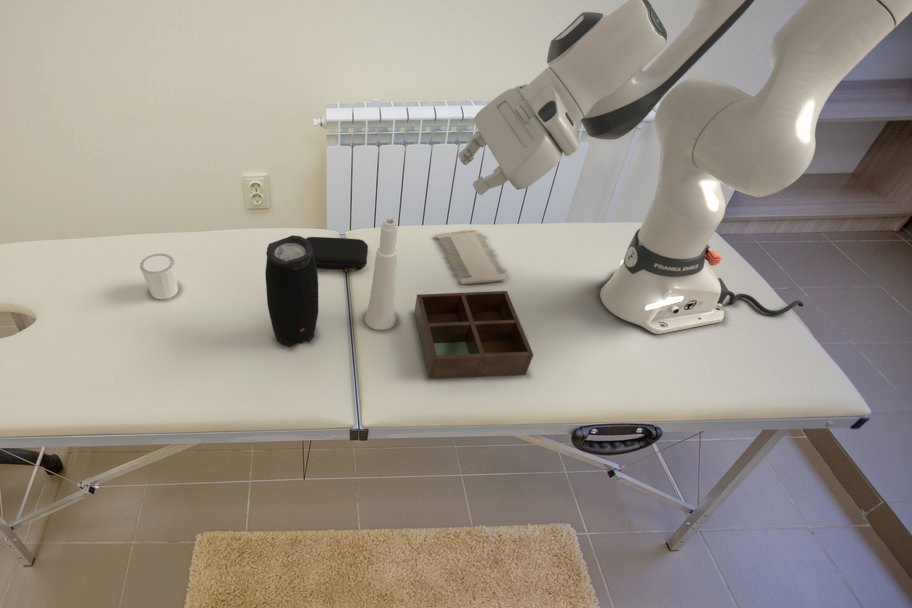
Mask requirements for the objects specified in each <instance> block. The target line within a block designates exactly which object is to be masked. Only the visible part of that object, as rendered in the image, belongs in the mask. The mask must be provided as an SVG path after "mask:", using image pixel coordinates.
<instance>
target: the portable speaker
mask: <svg viewBox="0 0 912 608" xmlns="http://www.w3.org/2000/svg"><path fill="white" fill-rule="evenodd" d="M318 273H319V272H318V269H317V266H316V261H315V256H314V252H313V248H312V246H311V244H310V242H309V240H307V239H306V238H305V237H302V236H301V235H290V236H287V237H284V238H281V239H279V240H276V241H273V242H270V243H268V245H267V247H266V264H265V273H264V274H265V289H266V291H265V292H266V303H267V310H268V313H269V319H270V323H271V327H272V332H273V333H274V337H275V340H276V341H277V342H278V343H279V344H280V345H281V346H285V347H288V348H291V347H292V346H293V345H294V346H295V345H299V344H302V343H306V342H307V343H311V342H312V341H313V339H314V338H315V332H316V328H317V322H318V317H319V274H318Z"/></svg>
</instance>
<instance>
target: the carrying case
mask: <svg viewBox="0 0 912 608" xmlns="http://www.w3.org/2000/svg"><path fill="white" fill-rule="evenodd" d="M305 239H307V240H309V242H310V244H311V246H312V248H313V252H314V256H315V261H316V266H317V270H318V269H319V270H335V271H342V272H344V273H351V272H357V271H362V269H364V268H365V267H366V266H367V262H368V253H369V252H368V251H369V245H368V244H367V242H365V240H363V239H360V238H347V237H346V238H345V237H329V236H327V237H325V236H307V237H306V238H305Z"/></svg>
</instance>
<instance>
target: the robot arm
mask: <svg viewBox="0 0 912 608" xmlns="http://www.w3.org/2000/svg"><path fill="white" fill-rule="evenodd" d="M754 2H755V0H698V2H697V7H696V10H695V12H694V14H693V16H692V18H691V20H690V22H689V24H688V25H687V26H686V27H685V28H684V29H683V30H682V31H681V32H680V33H679V35H678V36H676V37H675V38H674V40H673V41H672V42H671V43H670V44H669V45H668V46H667V47H666V48H665V50H663V48H664V47H665V46H666V45H667V42H668V32H667V30H666V28H665V26H664V24H663V23H662V20H661V19H660V17H659V15H658V14H657V12H656V11H655V9H654V7H653V5H652V4H651V3H650V1H649V0H627V1H626V2H624V3H623V4H621V5H620V6H619V7H618V8H616V9H615V10H614V11H612V12H611V13H610V14H608V15H604V13H602V12H595V11H593V12H591V11H583V12H581V13H580V14H579V15H578V16H577V17H576V18H575V19H574V20H573V21H572V22H571V23H570V24H569V25H567V27H566V28H564V30H562V31H561V32H560V33H559V34H558V35H557V36H555V37H554V38H552V39H551V40H550V44H549V47H548V51H547V56H546V63H547V67H546V68H545V69H544V70H543V71H541V72H540V73H539V74H538V75H537V76H536V77H535V78H534V79H533V80H531V81H530V82H529V83H528V84H526V83H525V84H523V85H517V86H515V87H514V88H509V89H506V90H505V91H503V92H502V93H500V94H499V95H498V96H496V97H495V98H493V99H492V100H491V101H489V102H488V103H487V104H486V105H485V106H483V107H482V108H481V109H480V110H479V111H478V112H477V113H476V115H475V116H474V118H473V120H472V121H473V123H474V125H475V126H476V128H477V131H476V132H475V133H474V134H472V136H471V138H470V139H469V141H468V143H467V144H466V146H465V148H463V149H462V150H461V151H460V152H458V154H457V157H458V158H459V160H460V162H461V163H462V165H464V166H467V165H468V164H469V163H470V162H472V161H473V160H475V157H474V156H475V155H476V154H477V153H478V151H479V150H480V149H481V148H484V147H485V146H486V145H487V147H488V149H489V151H490V152H491V154H492V156H493V158H494V159H495V161H496V162H497V164H498V165H497V167H496V168H495V169H493V170H492V172H493V173H490V174H489V175H487V176H485V177H483V176H482V175H480V176H479V177H478V178H477V179H476V180H474V182H473V183H472V186H473V188H474V191H475V192H476V193H477V194H478V195H480V196H482V195H484V194H485V193H486V192H487V191H489V190H491V189H494V188H497V187H500V186H503V185H504V184H505V183H506V182H509V183H510V184H511V185H512V186H513V187H514V189H515V190H517V191H520V190H521V191H522V190H524V189H527V188H529V187H531V186H533V184H535V183H536V182H537V181H539V180H540V179H542V178H543V177H544V176H545V175H547V174H548V173H549V172H551V170H553V169H554V168H555V167H556V166H557V165H558V164H559V163H560V162H561V160H562V158H563V155H564V156H565V157H569V156H572V154H574V153H575V152H576V151H578V150H579V149H580V146H581V145H580V137H579V136H580V135H579V124H578V123H580V122H581V123H582V124H581V125H582V126H583V128H584V129H585V132H586V133H587V135H588V137H590V138H593V139H597V140H605V141H606V140H607V141H610V140H618V139H620V138H622V137H624V136H626V135H627V134H629V133H630V132H631V131H633V130H634V129H635V128H636V127H637V126H638V125H639V124H640V123H642V121H643V120H644V119H645V118H646V117H648V115H649V114H650V113H651V112H652V111H653V109H655V107H656V106H657V105H658V104H659V105H658V107H657V109H656V111H655V115H654V118H653V119H654V120H653V126H654V129H655V133H656V137H657V139H658V145H659V147H658V148H659V166H658V167H659V168H658V177H657V184H656V189H655V194H654V196H653V198H652V201H651V204H650V206H649V208H648V210H647V213H646V215H645V218H644V219H643V222H642V224H641V226H640V228H638V229H637V230H636V231H635V233H634V235H633V236H632V238H631V241H630V243H629V245H628V247H627V249H626V252H625V254H624V255H625V256H624V259H623V260H621V262H620V265H619V266H618V268H617V269H616V271H615V272H614V273H613V275H612V276H611V278H610V279H608V281H607V282H606V283H605V284H604V285H603V286H602V288H601V289H600V292H599V297H600V300H601V303H602V304H603V306H604V307H605V308H606V309H607V310H608V312H610V313H611V314H613V315H614V316H615V317H617V318H619V319H621V320H624V321H626V322H628V323H631V324H634V325H638V326H640V327H642V328H643V329H645V330H646V331H648V332H650V333H652V334H654V335H655V334H656V335H661V334H665V333H666V334H667V333H673V332H677V331H682V330H686V329H691V328H698V327H701V326H707V325H712V324H718V323H720V322H722V321H723V319H724V317H725V309H724V307H723V303H724V301H725V300H726V299H727V297H728V296H729V298H728V304H729V305H734V304H735V303H736V302H737V301H738V300H739V299H740V298H741V299H745V300H748V301H749V302H750V303H752V304H753V306H755V307H756V308H757V309H758V310H759V311H761V312H762V313H765V314H767V315H782V314H784V313H786V312H788V311H790V310H791V309H793V308H795V307H796V306H798V307H804V302H803V301H801V300H794V301H792V302H790V304H788V305H787V306H785V307H784V308H780V309H777V310H774V309H773V310H772V309H768V308H766V307H764V306H763V305H762V304H761V303H760V302H759V301H758V300H757V299H755V297H753V296H752V295H749V294H746V293H739V294H736V295H735V293H734V292H733V291H731V290H729V289H728V287H727V286H726V284H725V283H724V281H723V279H722V278H721V277H718V276H717V275H716V274H715V272H713V270H712V269H711V267H712V266H713V267H714V266H717V265H719V264H720V263H721V262H722V260H723V258H722V256H721V255H720V254H718V251H716V250H711V249H710V248H711V246H709V242H710V240H711V239H712V237H713V235H714V234H715V232H716V230H717V228H718V227H719V226H720V224H721V222H722V220H723V218H724V217H725V214H726V200H725V196H724V193H723V190H722V185H724V186H725V187H727V188H729V189H732V190H733V191H737V192H739V193H742V194H746V195H748V196H751V197H755V198H763V197H767V196H771V195H774V194H776V193H779V192H781V191H783V190H785V189H786V188H788V187H790V186H791V185H793V184H794V183H795V182H796V181H797V180H799V178H800V177H801V176H802V175H803V174H804V173H805V172H806V171H807V169H808V167H809V166H810V165H811V162H812V160H813V158H814V155H815V152H816V144H817V143H816V142H817V141H816V128H817V123H818V120H819V118H820V117H819V116H820V114H821V111H822V110H823V108H824V106H825V104H826V102H827V101H828V99H829V97H830V96H831V94H832V93H833V92H834V90H835V89H836V87H838V85H839V84H840V83H841V81H842V80H843V79H844V78H846V76H847V75H848V74H849V73H850V72H851V71H852V70H853V69H854V68H855V67H856V66H857V65H858V64H859V63H860V62H861V61H862V60H863V59H864V58H865V57H866V56H867V55H868V54H869V53H870V52H871V51H872V50H873V49H874V48H876V46H877V45H878V44H879V43H880V42H881V41H883V40H884V39H885V38H886V37H887V36H888V35H889V34H890V33H891V32H892V31H893V30H894V29H895V28H896V27H897V26H898V25H900V24H901V22H903V21H904V20H905V19H906V18H907V17H908V16H909V15H910V14H911V13H912V0H806V1H805V2H804V3H803V4H802V5H801V6H800V7H799V8H798V9H797V11H795V12H794V13H793V14H792V16H791V17H790V18H789V19H788V20H787V21H786V22H785V23H784V24H783V25H781V27H780V28H779V29H778V30H777V31H776V33H775V34H774V36H773V37H772V39H771V41H770V44H769V49H768V60H769V64H770V67H771V68H770V69H771V73H770V75H769V77H768V79H767V81H766V82H765V84H764V85H763V86H762V87H761V88H760V90H758V92H757V93H756V94H755V95H754V96H752V95H751V94H749V93H747V92H745V91H743V90H741V89H739V88H738V87H736V86H734V85H732V84H730V83H728V82H726V81H722V80H719V79H718V80H717V79H713V78H708V77H702V76H694V77H690V78H687V79H685V80H683V81H681V82H680V83H678V81H679V80H680V79H681V78H683V76H685V74H687V72H688V71H689V70H690V69H691V68H692V67H693V66H695V64H696V63H697V62H698V61H699V60H700V59H701V58H702V57H703V56H704V55H705V54H706V53H707V52H708V51H709V50H710V49H711V48H712V47H713V46H714V45H716V43H717V42H718V41H719V40H720V39H721V38H722V37H723V36H724V35H725V34H726V33H727V32H728V31H729V30H730V29H731V28H732V27H733V25H734V24H735V23H737V21H738V20H739V19H740V18H741V17H742V16H743V15H744V14H745V12H746V11H747V10H748V9H749V8H750V7H751V5H752V4H753V3H754ZM661 51H662V52H661ZM660 52H661V53H660ZM659 53H660V55H659V56H658V57H656V56H657V55H658V54H659ZM654 58H656V59H655V60H654V61H653V62H652V63H651V64H650V65H649V66H648V67H647V65H648V64H649V63H650V62H651V61H652V60H653V59H654ZM645 67H647V68H646V69H645V70H643V69H644V68H645ZM677 83H678V84H677ZM676 84H677V85H676ZM673 86H674V87H673ZM672 87H673V88H672ZM671 88H672V89H671ZM661 99H662V100H661ZM660 101H661V102H660ZM659 102H660V103H659ZM705 261H707V263H708V264H707V263H706V262H705ZM709 266H711V267H709Z"/></svg>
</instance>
